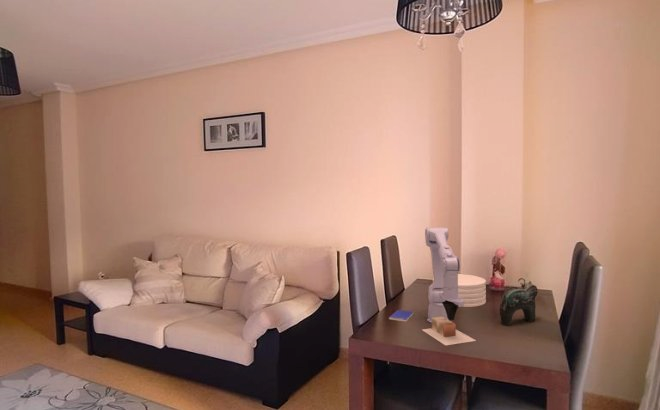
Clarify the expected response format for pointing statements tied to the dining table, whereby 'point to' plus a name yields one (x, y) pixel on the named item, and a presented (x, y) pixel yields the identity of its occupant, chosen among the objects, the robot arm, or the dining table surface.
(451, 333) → the birch block
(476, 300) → the plate stack
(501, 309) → the green elephant figurine
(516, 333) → the dining table surface
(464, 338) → the beige mat
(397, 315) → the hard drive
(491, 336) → the dining table surface
